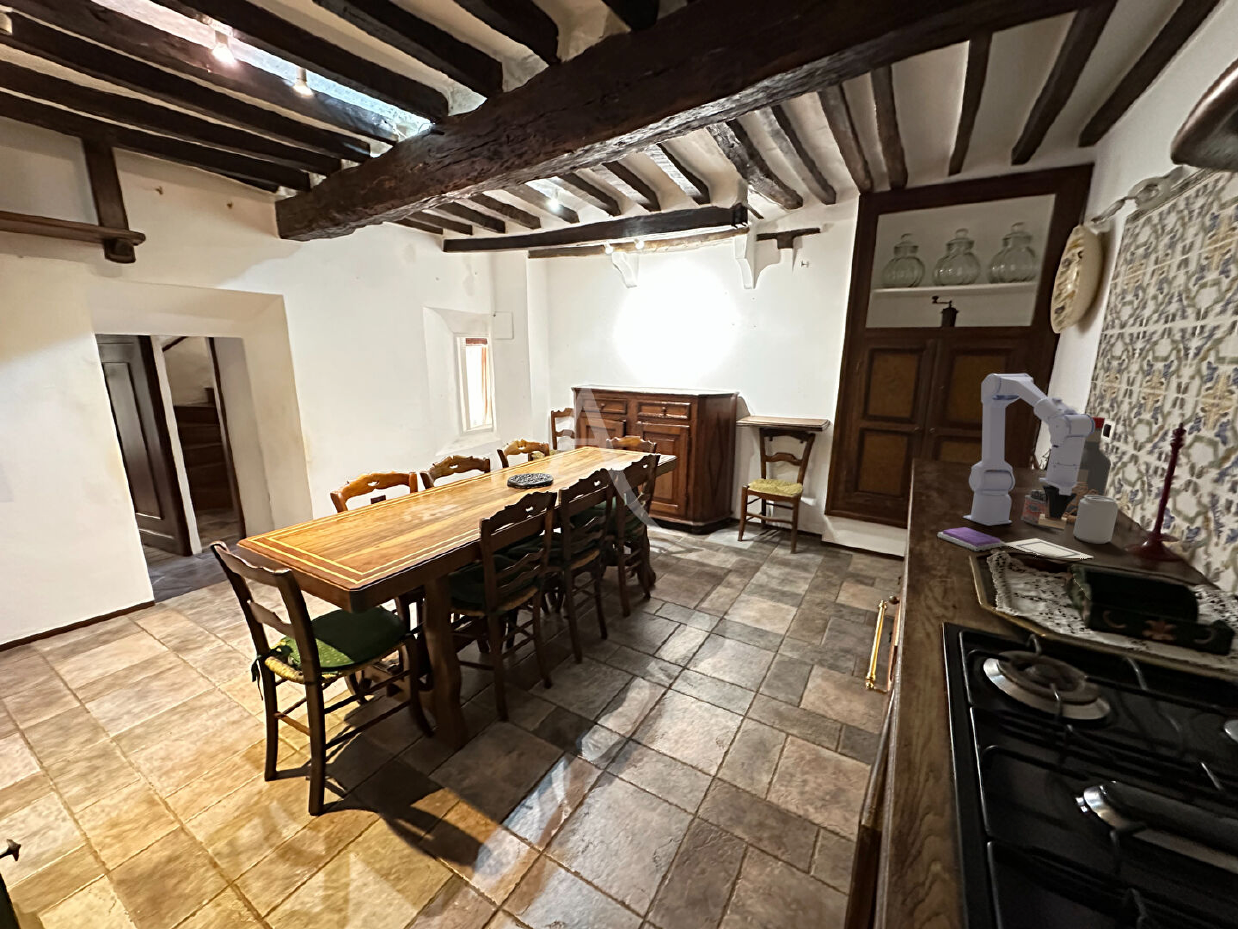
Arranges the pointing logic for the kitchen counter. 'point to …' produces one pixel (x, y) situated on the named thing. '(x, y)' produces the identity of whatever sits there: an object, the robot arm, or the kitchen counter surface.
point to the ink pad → (970, 539)
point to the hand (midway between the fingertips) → (1053, 515)
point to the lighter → (1034, 506)
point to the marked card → (1046, 549)
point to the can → (1096, 519)
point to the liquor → (1092, 466)
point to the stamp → (1051, 521)
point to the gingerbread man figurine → (1073, 518)
